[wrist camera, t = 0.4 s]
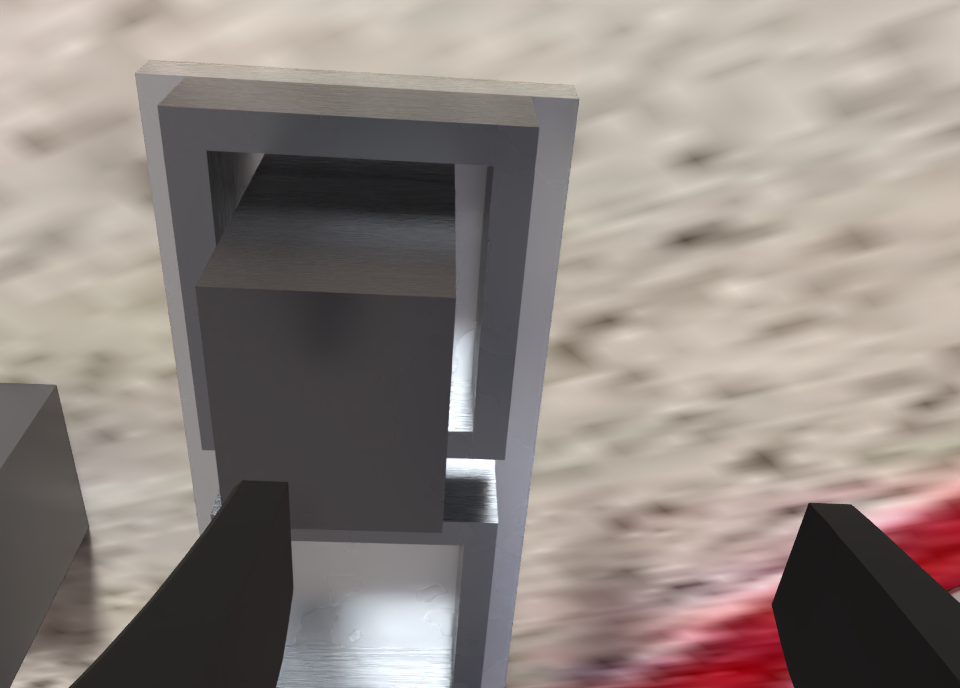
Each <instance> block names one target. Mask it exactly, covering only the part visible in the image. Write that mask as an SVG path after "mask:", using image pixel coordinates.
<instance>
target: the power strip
mask: <svg viewBox="0 0 960 688" xmlns="http://www.w3.org/2000/svg"><path fill="white" fill-rule="evenodd" d="M135 77H136V84H137V91H138V99H139V106H140V113H141V120H142V127H143V134H144V141H145V148H146V155H147V162H148V170H149V177H150V184H151V191H152V198H153V205H154V212H155V219H156V226H157V234H158V241H159V248H160V255H161V262H162V269H163V276H164V283H165V290H166V297H167V305H168V312H169V319H170V326H171V333H172V340H173V347H174V354H175V361H176V369H177V376H178V383H179V390H180V397H181V404H182V411H183V418H184V425H185V432H186V440H187V447H188V454H189V461H190V468H191V475H192V482H193V489H194V496H195V503H196V511H197V518H198V525H199V532H200V536H201V534H202V533H203V532H204V530H205V529H206V528H207V526H208V525H209V523H210V522H211V521H212V519H213V518H214V516H215V515H216V513H217V512H218V511H219V509H220V508H221V506H222V505H223V503H224V502H225V500H226V499H227V497H228V496H229V494H230V493H231V491H232V490H233V488H234V486H236V485H237V484H238V483H240V482H241V481H242V480H253V481H278V482H288V486H289V506H290V526H291V546H292V566H293V586H294V590H293V597H292V604H291V611H290V618H289V624H288V631H287V637H286V644H285V650H284V657H283V662H282V666H281V670H280V674H279V677H278V681H277V685H276V688H505V680H506V672H507V664H508V656H509V649H510V641H511V633H512V625H513V617H514V609H515V601H516V593H517V586H518V578H519V570H520V562H521V554H522V546H523V538H524V530H525V523H526V515H527V507H528V499H529V491H530V483H531V475H532V467H533V459H534V452H535V444H536V436H537V428H538V420H539V412H540V404H541V396H542V389H543V381H544V373H545V365H546V357H547V349H548V341H549V333H550V326H551V318H552V310H553V302H554V294H555V286H556V278H557V270H558V263H559V255H560V247H561V239H562V231H563V223H564V215H565V207H566V200H567V192H568V184H569V176H570V168H571V160H572V152H573V144H574V136H575V129H576V121H577V113H578V105H579V97H578V95H577V93H576V90H575V88H574V86H571V85H555V84H538V83H521V82H504V81H487V80H470V79H454V78H437V77H420V76H403V75H386V74H369V73H352V72H336V71H319V70H302V69H285V68H268V67H251V66H235V65H218V64H201V63H184V62H167V61H150V60H149V61H148V62H147V63H146V64H145V65H144V66H143V67H141V68H140V69H139V70H138V71H137V72H136V73H135Z"/></svg>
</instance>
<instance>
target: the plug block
mask: <svg viewBox="0 0 960 688" xmlns="http://www.w3.org/2000/svg"><path fill="white" fill-rule="evenodd" d="M88 528H89V524H88V519H87V515H86V511H85V507H84V502H83V498H82V494H81V489H80V485H79V481H78V476H77V472H76V468H75V463H74V459H73V455H72V450H71V446H70V442H69V437H68V433H67V429H66V425H65V420H64V416H63V412H62V407H61V403H60V399H59V394H58V390H57V386H56V385H46V384H19V383H0V688H10V687H11V684H12V682H13V680H14V678H15V676H16V674H17V672H18V670H19V668H20V666H21V664H22V662H23V660H24V658H25V656H26V654H27V652H28V650H29V648H30V646H31V644H32V642H33V640H34V638H35V636H36V634H37V632H38V630H39V628H40V626H41V624H42V621H43V619H44V617H45V615H46V613H47V611H48V609H49V607H50V605H51V603H52V601H53V599H54V597H55V595H56V593H57V591H58V589H59V587H60V585H61V583H62V581H63V579H64V577H65V575H66V573H67V571H68V569H69V567H70V565H71V563H72V561H73V558H74V556H75V554H76V552H77V550H78V548H79V546H80V544H81V542H82V540H83V538H84V536H85V534H86V532H87V530H88Z"/></svg>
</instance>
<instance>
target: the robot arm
mask: <svg viewBox="0 0 960 688" xmlns="http://www.w3.org/2000/svg"><path fill="white" fill-rule="evenodd" d="M293 590H294V586H293V566H292V546H291V526H290V506H289V486H288V482H278V481H253V480H242V481H241V482H240V483H238V484H237V485H236V486H234V488H233V490H232V491H231V493H230V494H229V496H228V497H227V499H226V500H225V502H224V503H223V505H222V506H221V508H220V509H219V511H218V512H217V513H216V515H215V516H214V518H213V519H212V521H211V522H210V523H209V525H208V526H207V528H206V529H205V530H204V532H203V533H202V534H201V536H200V537H199V538H198V540H197V541H196V542H195V544H194V545H193V546H192V548H191V549H190V550H189V552H188V553H187V554H186V556H185V557H184V558H183V559H182V561H181V562H180V563H179V564H178V566H177V567H176V568H175V569H174V571H173V572H172V573H171V574H170V576H169V577H168V578H167V579H166V581H165V582H164V583H163V584H162V586H161V587H160V588H159V589H158V591H157V592H156V593H155V594H154V596H153V597H152V598H151V599H150V600H149V601H148V603H147V604H146V605H145V606H144V607H143V608H142V610H141V611H140V612H139V613H138V614H137V615H136V616H135V617H134V619H133V620H132V621H131V622H130V623H129V624H128V625H127V626H126V627H125V629H124V630H123V631H122V632H121V633H120V634H119V635H118V636H117V638H116V639H115V640H114V641H113V642H112V643H111V644H110V645H109V646H108V648H107V649H106V650H105V651H104V652H103V653H102V654H101V655H100V656H99V657H98V658H97V659H96V660H95V661H94V662H93V664H92V665H91V666H90V667H89V668H88V669H87V670H86V671H85V672H84V673H83V674H82V675H81V676H80V677H79V678H78V679H77V680H76V681H75V682H74V683H73V684H72V685H71V686H70V687H69V688H276V685H277V681H278V677H279V674H280V670H281V666H282V662H283V657H284V650H285V644H286V637H287V631H288V624H289V618H290V611H291V604H292V597H293ZM772 608H773V612H774V616H775V620H776V625H777V629H778V633H779V637H780V642H781V645H782V649H783V653H784V657H785V660H786V664H787V668H788V671H789V675H790V677H791V680H792V683H793V685H794V688H960V602H958V601H957V600H956V599H955V598H954V597H953V596H952V595H951V594H950V593H948V592H947V591H946V590H945V589H944V588H943V587H942V586H941V585H940V584H939V583H937V582H936V581H935V580H934V579H933V578H932V577H931V576H930V575H929V574H928V573H927V572H925V571H924V570H923V569H922V568H921V567H920V566H919V565H918V564H917V563H916V562H915V561H914V560H912V559H911V558H910V557H909V556H908V555H907V554H906V553H905V552H904V551H903V550H902V549H901V548H899V547H898V546H897V545H896V544H895V543H894V542H893V541H892V540H891V539H890V538H889V537H888V536H886V535H885V534H884V533H883V532H882V531H881V530H880V529H879V528H878V527H877V526H875V525H874V524H873V523H872V522H871V521H870V520H869V519H868V518H866V517H865V516H864V515H863V514H862V513H861V512H860V511H858V510H857V509H856V508H855V507H854V506H852V505H850V504H825V503H809V504H808V507H807V509H806V512H805V515H804V518H803V520H802V523H801V526H800V529H799V531H798V534H797V537H796V540H795V542H794V545H793V548H792V551H791V553H790V556H789V559H788V561H787V564H786V567H785V570H784V572H783V575H782V578H781V581H780V583H779V586H778V589H777V592H776V594H775V597H774V600H773V603H772Z"/></svg>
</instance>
